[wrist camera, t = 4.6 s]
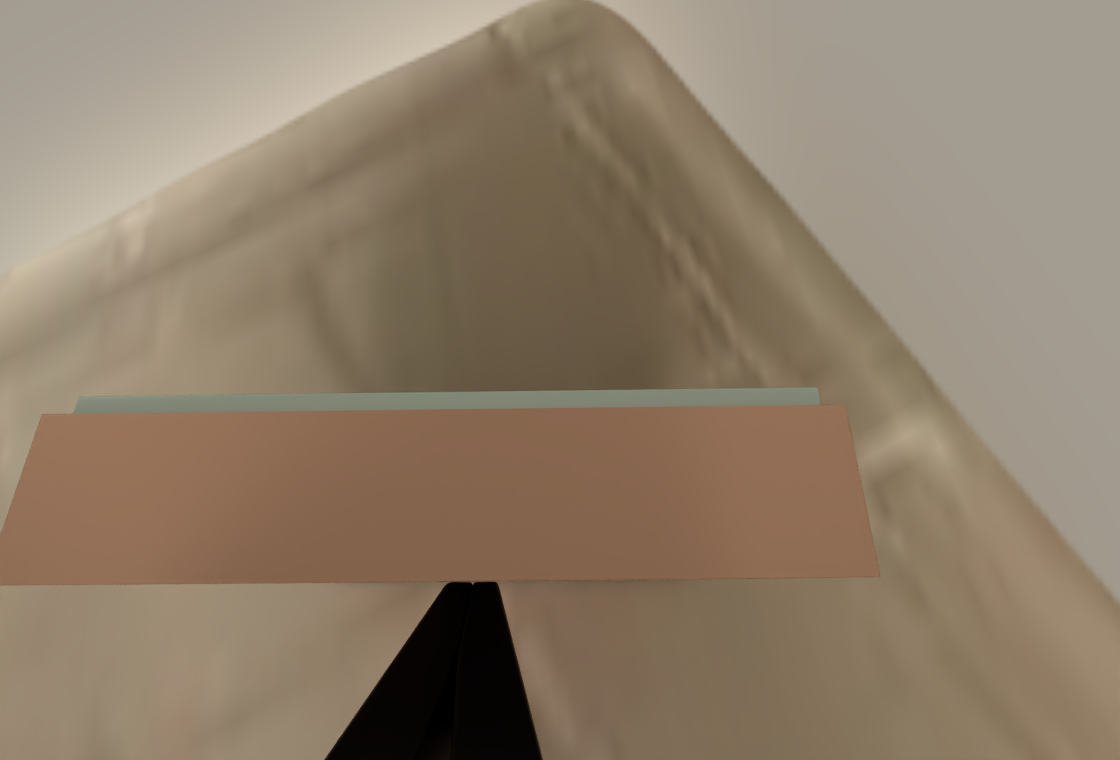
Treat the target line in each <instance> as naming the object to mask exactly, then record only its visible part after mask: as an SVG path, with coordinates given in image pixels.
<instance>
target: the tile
mask: <svg viewBox="0 0 1120 760" xmlns="http://www.w3.org/2000/svg"><path fill="white" fill-rule="evenodd" d="M845 577H880V572H879V568H878V563H877V558H876V553H875V548H874V543H873V538H872V533H871V529H870V524H869V519H868V514H867V509H866V504H865V499H864V494H863V490H862V485H861V480H860V475H859V470H858V465H857V460H856V455H855V451H854V446H853V441H852V436H851V431H850V426H849V421H848V416H847V412H846V407H845V405H821V404H820V398H819V393H818V388H817V387H808V388H727V389H646V390H565V391H484V392H403V393H322V394H241V395H160V396H79V398H78V401H77V404H76V407H75V410H74V413H73V414H42V416H41V419H40V422H39V425H38V428H37V430H36V433H35V436H34V439H33V442H32V445H31V448H30V451H29V454H28V457H27V459H26V462H25V465H24V468H23V471H22V474H21V477H20V480H19V483H18V486H17V488H16V491H15V494H14V497H13V500H12V503H11V506H10V509H9V512H8V515H7V518H6V520H5V523H4V526H3V529H2V532H1V535H0V585H132V584H286V583H409V582H515V581H621V580H712V579H779V578H845Z"/></svg>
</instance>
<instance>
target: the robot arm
mask: <svg viewBox="0 0 1120 760" xmlns="http://www.w3.org/2000/svg"><path fill="white" fill-rule="evenodd" d="M325 760H543V758H542V754H541V750H540V746H539V743H538V739H537V735H536V731H535V727H534V723H533V719H532V715H531V711H530V707H529V703H528V699H527V695H526V691H525V688H524V684H523V680H522V676H521V672H520V668H519V664H518V660H517V656H516V652H515V648H514V644H513V640H512V636H511V633H510V629H509V625H508V621H507V617H506V613H505V609H504V605H503V601H502V597H501V593H500V589H499V586H498V584H497V583H496V582H475V583H474V584H473V585H472V583H470V582H450V583H448V584H446V585H445V587H444V588H443V589H442V591H441V592H440V594H439V595H438V597H437V598H436V599H435V601H434V602H433V604H432V605H431V607H430V608H429V610H428V611H427V612H426V614H425V615H424V617H423V618H422V620H421V621H420V623H419V624H418V625H417V627H416V628H415V630H414V631H413V633H412V634H411V636H410V637H409V638H408V640H407V641H406V643H405V644H404V646H403V647H402V649H401V650H400V651H399V653H398V654H397V656H396V657H395V659H394V660H393V662H392V663H391V664H390V666H389V667H388V669H387V670H386V672H385V673H384V674H383V676H382V677H381V679H380V680H379V682H378V683H377V685H376V686H375V687H374V689H373V690H372V692H371V693H370V695H369V696H368V698H367V699H366V700H365V702H364V703H363V705H362V706H361V708H360V709H359V711H358V712H357V713H356V715H355V716H354V718H353V719H352V721H351V722H350V724H349V725H348V726H347V728H346V729H345V731H344V732H343V734H342V735H341V737H340V738H339V739H338V741H337V742H336V744H335V745H334V747H333V748H332V750H331V751H330V752H329V754H328V755H327V757H326V758H325Z"/></svg>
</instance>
